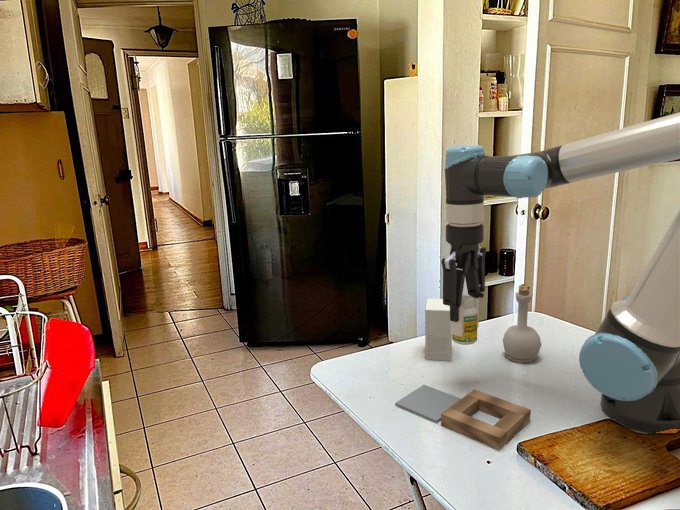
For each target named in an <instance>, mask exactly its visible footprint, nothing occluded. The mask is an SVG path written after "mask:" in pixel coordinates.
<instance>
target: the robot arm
mask: <svg viewBox="0 0 680 510" xmlns="http://www.w3.org/2000/svg"><path fill="white" fill-rule="evenodd" d="M484 148H485V147H484V146H483V145H474V144H473V145H456V146H450V147H448V148H447V150H446V152H445V161H444V163H445V164H444V179H445V180H444V181H445V222H447V224H446V225H445V241H446V243H448V245H450V251H449V256H448V257H446V258H445V257H442V258H441V265H442V299H443V304H444V305H448V306H450V334H453V335H457V336H460V337H462V336H463V306H461V301H462V295H463V293H464V286H465V284H466V289H467V296H472V297H473V298H474V305H473V306H474V307H476V309H477V329H478V328H480V327H479V321H480V320H479V319H480V318H479V316H480V315H479V309H480V308H479V305H480V304H479V302H480V301H479V300H480V298H481V299H483V298H484V296H485V293H484V292H485V290H486V275H485V274H486V266H485V265H486V261H485V258H486V252H487V248H486V247H483V246H479V244H481V243H483V242H484V236H485V235H484V230H485V228H484V224H483V222H484V221H485V220H484V219H485V218H484V217H485V216H484V214H485V212H484V211H485V210H484V208H485V207H484V206H485V205H484V201H485V200H484V199H485V197H484V196H494V197H505V198H507V197H508V198H509V197H510V198H516V199H523V198H525V199H527V198H528V199H529V198H531V199H532V198H536V197H540V196H541V194H542V192H543V191H545V190H546V189H551V188H555V187H559V186H563V185H567V184H568V185H569V184H572V183H577V182H579V181H585V180H591V179H594V178H599V177H602V176H609V175H612V174H616V173H623V172H626V171H631V170H635V169H640V168H643V167H644V168H645V167H649V166H653V165H654V166H655V165H657V164H662V163H667V162H671V161H677V160H680V111H679V112H676V113H671V114H669V115H664V116H662V117H658V118H654V119H651V120H647V121H644V122H639V123H637V124H632V125H629V126H627V127H626V126H625V127H623V128H620V129H615V130H612V131H608V132H604V133H601V134H598V135H595V136H594V135H593V136H591V137H587V138H583V139H580V140H576V141H573V142H569V143H566V144H563V145H558V146H554V147H551V148H548V149H544V150H541V151H536V152H528V153H520V154H515V155H514V154H513V155H496V156H494V155H493V156H492V155H491V156H490V155H486V154H485V149H484ZM578 355H579V356H578V361H579V366H580V369H581V370H582V373H583V376H584V377H585V379H586V380H587V382H589V384H590V385H591V386H592V387H593V388H594V389H595V390H597V391H598V392H599V393H600V394H601V396H600V397H601V399H600V406H601V407H600V408H601V409H602V411H603V412H604V414H605V415H607V416H608V417H609V418H611V419H612V420H613V421H614V422H617V424H618V423H619V424H620V425H623V426H625V427H628V428H630V429H633V430H636V431H640V432H644V433H648V434H655V433H656V432H660V431H664V430H668V429H674V428H680V208H679V209H678V211H677V212H676V214H675V216H674V217H673V220H672V221H671V223H670V225H669V226H668V228H667V230H666V231H665V234H664V235H663V237H662V239H661V241H660V242H659V243H658V245H657V247H656V249H655V250H654V252H653V254H652V256H651V257H650V259H649V260H648V263H647V264H646V266H645V268H644V269H643V271H642V273H641V275H640V277H639V278H638V280H637V282H636V284H635V285H634V287H633V288H632V289H631V292H630V294H627V295H624V296H623V297H622V298H621V300H617V301H615V302H613V304H611V306H610V308H609V309H608V311H607V313H606V315H605V316H604V318H603V319H602V322H601V324H600V325H599V327H598V328H597V330H596V331H595V333H594V334H592V335H590V336H589V337H588V338H586V339H585V341H584V343H583V344H582V346H581V348H580V351H579V354H578Z"/></svg>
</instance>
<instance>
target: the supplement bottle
mask: <svg viewBox="0 0 680 510" xmlns="http://www.w3.org/2000/svg"><path fill="white" fill-rule="evenodd" d="M473 305H474V298H473V297H472V296H470V295H468V294H467V295H463V294H462V301H461V306H463V336H462V337H460V336H457V335H453V334H452V342H454V343H456V345H462V346H465V345H466V346H469V345H473V344H475V343H477V341H478V328H477V309H476V307H474V306H473Z"/></svg>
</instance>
